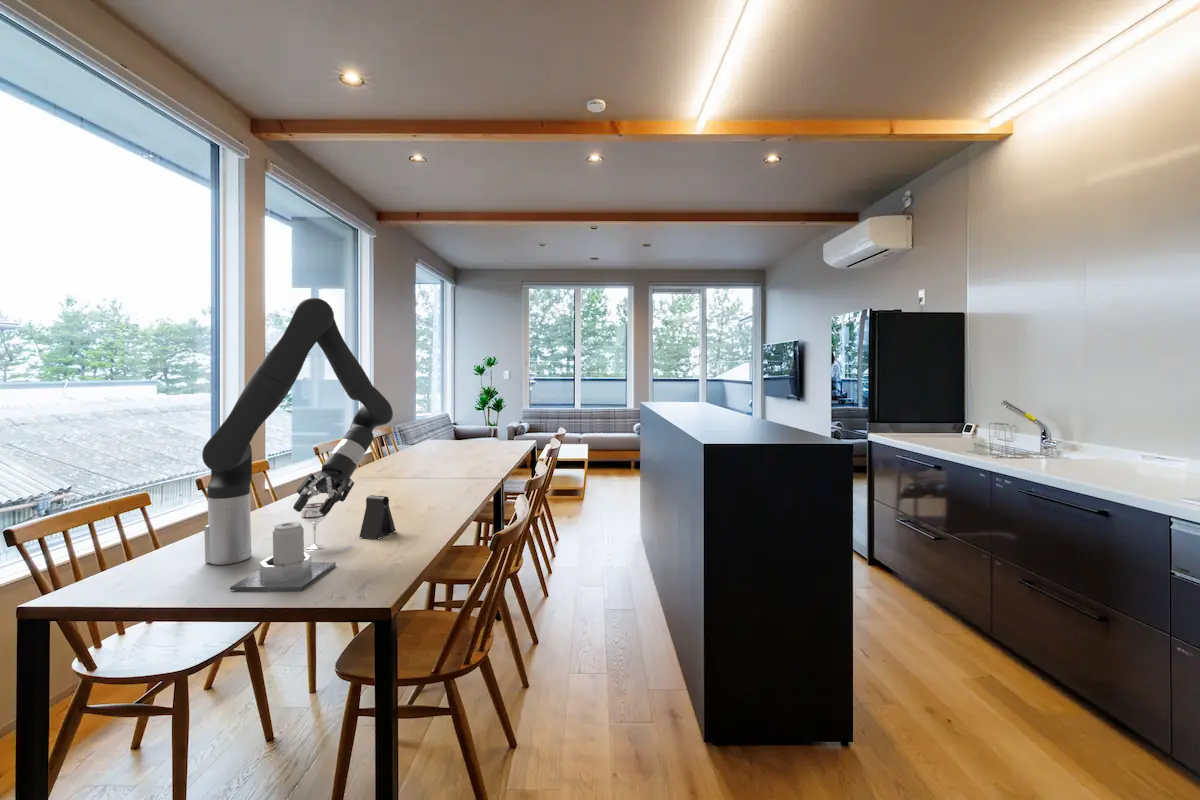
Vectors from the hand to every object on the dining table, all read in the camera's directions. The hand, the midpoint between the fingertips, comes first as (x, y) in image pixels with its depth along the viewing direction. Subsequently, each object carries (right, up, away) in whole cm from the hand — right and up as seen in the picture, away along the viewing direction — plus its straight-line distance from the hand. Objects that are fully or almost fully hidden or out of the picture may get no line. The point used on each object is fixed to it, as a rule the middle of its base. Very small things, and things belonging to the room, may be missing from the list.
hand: (309, 511), depth 135 cm
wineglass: (-8, -14, +17) cm, 23 cm away
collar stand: (-2, -15, -6) cm, 16 cm away
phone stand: (+5, -13, +29) cm, 33 cm away
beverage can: (-2, -14, -6) cm, 15 cm away
